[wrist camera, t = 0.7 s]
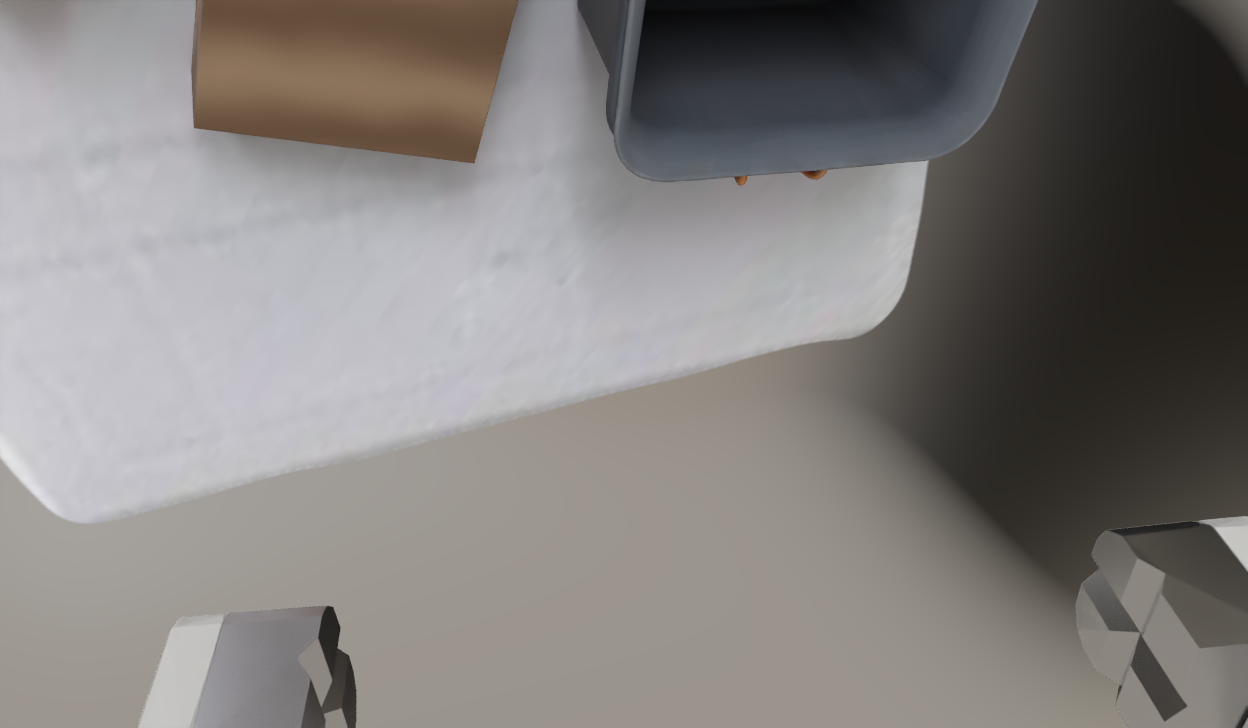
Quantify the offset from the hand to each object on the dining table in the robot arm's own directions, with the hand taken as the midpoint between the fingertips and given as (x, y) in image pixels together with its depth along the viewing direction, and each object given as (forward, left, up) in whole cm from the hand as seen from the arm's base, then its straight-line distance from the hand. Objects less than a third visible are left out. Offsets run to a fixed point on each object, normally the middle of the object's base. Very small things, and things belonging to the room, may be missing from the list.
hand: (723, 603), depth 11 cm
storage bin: (+7, +24, -48) cm, 54 cm away
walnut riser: (+12, +4, -48) cm, 49 cm away
